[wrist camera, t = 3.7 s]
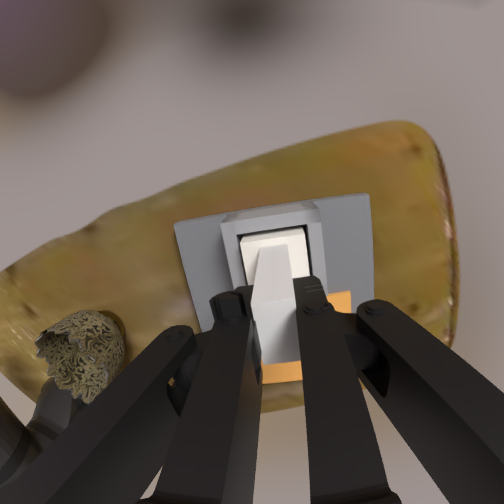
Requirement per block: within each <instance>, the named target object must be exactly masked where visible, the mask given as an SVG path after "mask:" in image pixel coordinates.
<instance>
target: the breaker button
mask: <svg viewBox="0 0 504 504" xmlns="http://www.w3.org/2000/svg"><path fill="white" fill-rule="evenodd" d="M281 244H287V245H288V252H289V259H290V266H291V272H292V278H299V277H306V276H310V274H309V265H308V256H307V248H306V240H305V233H304V231H303V229H302V226H301V225H296V226H290V227H283V228H276V229H270V230H263V231H256V232H250V233H244V235H243V237H242V240H241V242H240V246H241V251H242V256H243V261H244V266H245V272H246V277H247V282H248V285H254V282H255V276H256V270H257V264H258V258H259V252H260V248H261V247H267V246H274V245H281Z"/></svg>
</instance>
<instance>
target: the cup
mask: <svg viewBox="0 0 504 504" xmlns="http://www.w3.org/2000/svg"><path fill="white" fill-rule="evenodd" d="M40 334H41V335H40V336H39V337H38V338H37V340H36V341H35V345H36V346H37V347H38V348H39V349H38V351H37V357H39V358H44V356H46V362H49V368H48V369H47V374H48V376H54V377H55V382H56V384H57V386H58V387H59V389H61V390H71V391H72V390H73V392H72V393H71V394H72V396H73V398H74V399H76V398H77V397H78V396H79V395H81V394H82V393H83V394H82V399H83V401H84V403H90V402H92V401H93V400H94V399H95V398H96V397H97V396H98V395H99V394H100V393H101V392H102V391H103V390H104V389H105V388H106V387H107V386H108V385H109V384H110V383H111V382H112V381H113V380H114V379H115V378H116V377H117V376H118V373H119V371H120V369H121V366H122V363H123V360H124V356H125V345H124V340H123V337H124V326H123V323H122V321H121V320H120V319H119V317H118V316H117V315H115V314H114V313H112V312H110V311H107V310H102V311H98V312H96V311H90V310H84V311H79V312H76V313H74V314H71V315H69V316H68V317H66V318H64V319H63V320H61V321H59V322H58V323H56V324H54V325H53V326H51V327H50V328H48V329H47V330H45V331H43V332H41V333H40Z"/></svg>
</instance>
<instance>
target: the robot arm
mask: <svg viewBox="0 0 504 504" xmlns="http://www.w3.org/2000/svg"><path fill="white" fill-rule="evenodd" d="M209 303H210V307H211V310H212V314H213V318H214V324H213V327H212V329H211V330H209V331H206V332H202V333H198V334H194V332H193V329H192V328H191V327H189V326H185V325H176V326H172V327H170V328H168V329H166V330H164V331H163V332H162V333H160V334H159V335H158V336H157V337H156V338H155V339H154V340H153V341H152V342H151V343H150V344H149V345H148V346H147V347H146V348H145V349H144V350H143V351H142V352H141V353H140V354H139V355H138V356H137V357H136V358H135V359H134V360H133V361H132V362H131V363H130V364H129V365H128V366H127V367H126V368H125V369H124V370H123V371H122V372H121V373H120V374H119V375H118V376H117V377H116V378H115V379H114V380H113V381H112V382H111V383H110V384H109V385H108V386H107V387H106V388H105V389H104V390H103V391H102V392H101V393H100V394H99V395H98V396H97V397H96V398H95V399H94V400H93V401H92V402H90V403H84V401H83V399H82V394H83V393H82V394H81V395H79V396H78V397H77V398H76V399H74V398H73V396H72V394H71V393H72V392H73V390H72V391H71V390H61V389H59V387H58V386H57V384H56V382H55V377H51V378H49V379H48V380H47V381H46V382H45V384H44V385H43V386H42V389H41V393H40V396H39V398H38V401H37V404H36V408H35V411H34V414H33V417H32V419H31V420H30V422H29V423H28V424H27V426H26V427H25V426H24V425H23V424H22V422H21V421H20V420H19V419H18V418H17V417H16V416H15V415H14V413H13V412H12V411H11V410H10V408H9V407H8V406H7V405H6V403H5V402H4V401H3V399H2V398H1V397H0V504H253V492H254V482H255V471H256V459H257V447H258V434H259V421H260V409H261V395H262V381H263V371H262V367H261V356H262V361H263V365H268V364H277V363H286V362H295V361H301V369H302V379H303V391H304V402H305V415H306V428H307V442H308V458H309V476H310V501H311V504H402V503H401V500H400V498H399V496H398V495H397V494H396V493H394V492H392V491H391V490H390V488H389V485H388V482H387V478H386V474H385V470H384V465H383V462H382V458H381V454H380V450H379V446H378V443H377V439H376V435H375V432H374V428H373V425H372V421H371V418H370V414H369V411H368V408H367V405H366V401H365V398H364V394H363V391H362V388H361V385H360V382H359V379H360V380H361V381H362V383H363V384H364V386H365V387H366V388H367V390H368V391H369V392H370V394H371V395H372V396H373V398H374V399H375V400H376V402H377V403H378V405H379V406H380V407H381V408H382V410H383V411H384V413H385V414H386V415H387V417H388V418H389V419H390V421H391V422H392V424H393V425H394V426H395V428H396V429H397V431H398V432H399V433H400V435H401V436H402V437H403V439H404V440H405V442H406V443H407V444H408V446H409V447H410V449H411V450H412V451H413V453H414V454H415V455H416V457H417V458H418V460H419V461H420V462H421V464H422V465H423V467H424V468H425V469H426V471H427V472H428V474H429V475H430V476H431V478H432V479H433V481H434V482H435V483H436V485H437V486H438V488H439V489H440V490H441V492H442V493H443V495H444V496H445V497H446V499H447V500H448V502H449V503H450V504H504V393H503V392H502V391H500V390H499V389H498V388H497V387H496V386H495V385H493V384H492V383H491V382H490V381H489V380H487V379H486V378H485V377H484V376H483V375H482V374H480V373H479V372H478V371H477V370H476V369H474V368H473V367H472V366H471V365H470V364H468V363H467V362H466V361H465V360H463V359H462V358H461V357H460V356H459V355H457V354H456V353H455V352H454V351H452V350H451V349H450V348H449V347H447V346H446V345H445V344H444V343H442V342H441V341H440V340H439V339H437V338H436V337H435V336H433V335H432V334H431V333H430V332H428V331H427V330H426V329H424V328H423V327H422V326H421V325H419V324H418V323H417V322H415V321H414V320H413V319H411V318H410V317H409V316H407V315H406V314H405V313H403V312H402V311H401V310H400V309H398V308H397V307H396V306H394V305H393V304H391V303H389V302H387V301H384V300H380V299H376V300H375V299H374V300H370V301H365V302H363V303H361V304H360V305H359V306H358V307H357V310H356V313H342V312H338V311H335V309H334V306H333V305H332V304H331V303H330V302H328V300H327V297H326V294H325V292H324V290H323V286H322V283H321V281H320V279H319V278H317V277H316V276H314V275H313V276H306V277H299V278H292V272H291V266H290V259H289V252H288V245H287V244H281V245H274V246H267V247H261V248H260V252H259V258H258V264H257V270H256V276H255V282H254V285H247V286H239V287H237V288H236V289H235V290H234V291H226V292H222V293H219V294H217V295H215V296H214V297H212V298H211V299H210V300H209ZM171 377H173V379H174V381H175V382H174V383H173V385H172V386H170V385H169V383H168V382H169V380H170V379H171ZM358 377H359V378H358ZM162 466H163V467H162ZM161 467H162V470H161V473H160V476H159V479H158V482H157V485H156V488H155V491H154V493H153V494H152V495H151V496H150V497H149V498H145V499H140V498H141V497H142V495H143V494H144V492H145V491H146V489H147V488H148V486H149V485H150V484H151V482H152V481H153V479H154V478H155V476H156V475H157V473H158V472H159V470H160V469H161Z"/></svg>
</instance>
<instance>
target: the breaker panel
mask: <svg viewBox="0 0 504 504" xmlns="http://www.w3.org/2000/svg"><path fill="white" fill-rule="evenodd" d="M296 225H301V226H302V229H303V231H304V233H305V240H306V248H307V256H308V265H309V274H310V276H313V275H314V276H316V277H317V278H319V279H320V281H321V283H322V286H323V290H324V292H325V294H326V297H327V300H328V302H330V303H331V304H332V305H333V306H334V309H335V311H338V312H342V313H356V310H357V307H358V306H359V305H360V304H361V303H363V302H365V301H370V300H374V263H373V239H372V223H371V211H370V200H369V194H366V193H357V194H349V195H340V196H333V197H325V198H318V199H310V200H303V201H296V202H289V203H283V204H276V205H269V206H263V207H257V208H251V209H245V210H239V211H233V212H227V213H221V214H215V215H210V216H204V217H199V218H194V219H188V220H183V221H178V222H177V223H175V224H174V230H175V234H176V238H177V242H178V246H179V250H180V254H181V258H182V262H183V266H184V270H185V274H186V278H187V281H188V285H189V289H190V292H191V296H192V299H193V303H194V306H195V310H196V313H197V317H198V320H199V323H200V327H201V330H202V332H206V331H209V330H211V329H212V327H213V324H214V318H213V314H212V310H211V307H210V303H209V300H210V299H211V298H212V297H214V296H215V295H217V294H219V293H222V292H226V291H234V290H235V289H236V288H237V287H239V286H247V285H248V282H247V277H246V272H245V266H244V261H243V256H242V251H241V246H240V242H241V240H242V237H243V235H244V233H250V232H256V231H263V230H270V229H276V228H283V227H290V226H296ZM261 367H262V371H263V381H262V384H268V383H278V382H288V381H296V380H303V379H302V369H301V361H295V362H286V363H277V364H268V365H263V361H262V356H261Z"/></svg>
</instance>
